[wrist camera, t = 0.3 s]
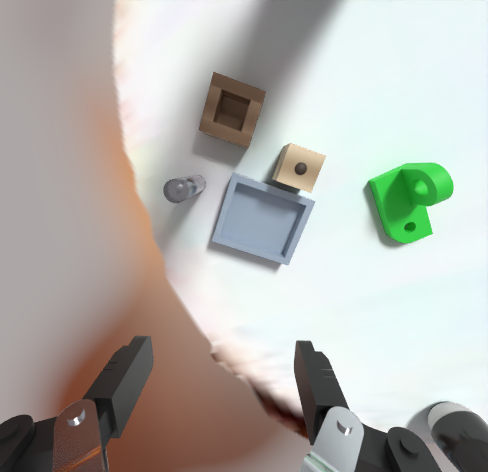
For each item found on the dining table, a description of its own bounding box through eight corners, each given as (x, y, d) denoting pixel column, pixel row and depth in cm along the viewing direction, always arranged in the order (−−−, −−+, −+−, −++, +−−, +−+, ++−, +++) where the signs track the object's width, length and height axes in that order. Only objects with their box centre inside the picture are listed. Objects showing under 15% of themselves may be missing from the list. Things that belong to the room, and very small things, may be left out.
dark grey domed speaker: (408, 410, 50) (474, 509, 36) (452, 385, 48) (541, 480, 34) (432, 435, 53) (503, 538, 38) (475, 412, 50) (568, 512, 36)
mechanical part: (368, 180, 37) (399, 183, 29) (405, 163, 36) (448, 162, 28) (388, 244, 40) (422, 263, 32) (423, 230, 39) (466, 246, 31)
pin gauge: (191, 173, 37) (166, 176, 25) (207, 178, 37) (189, 183, 25) (187, 188, 37) (161, 198, 26) (203, 194, 38) (183, 206, 26)
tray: (233, 172, 36) (232, 173, 34) (310, 198, 38) (315, 201, 35) (214, 235, 40) (211, 241, 37) (285, 258, 41) (288, 265, 38)
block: (283, 146, 35) (290, 142, 30) (313, 157, 36) (326, 156, 30) (271, 178, 37) (276, 180, 31) (300, 188, 37) (311, 192, 31)
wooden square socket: (217, 82, 33) (213, 71, 29) (263, 100, 34) (265, 91, 30) (204, 133, 35) (198, 129, 31) (248, 149, 35) (248, 146, 32)
